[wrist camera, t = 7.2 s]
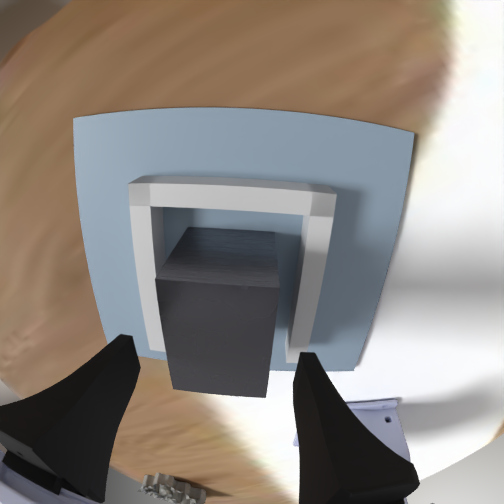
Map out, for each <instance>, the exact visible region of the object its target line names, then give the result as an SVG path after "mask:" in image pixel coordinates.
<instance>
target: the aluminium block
mask: <svg viewBox="0 0 504 504" xmlns="http://www.w3.org/2000/svg"><path fill="white" fill-rule="evenodd" d="M155 286H156V293H157V301H158V308H159V314H160V321H161V327H162V333H163V339H164V345H165V350H166V356H167V361H168V366H169V371H170V376H171V381H172V385H173V389H177V390H184V391H191V392H199V393H208V394H218V395H230V396H243V397H261V398H266V393H267V386H268V378H269V371H270V364H271V356H272V348H273V340H274V332H275V324H276V316H277V307H278V299H279V290H280V285H279V273H278V261H277V249H276V238H275V232H272V231H256V230H239V229H221V228H201V227H188V228H187V229H186V231H185V232H184V234H183V235H182V237H181V238H180V240H179V241H178V243H177V244H176V246H175V247H174V249H173V251H172V252H171V254H170V255H169V257H168V258H167V260H166V262H165V263H164V265H163V266H162V268H161V270H160V271H159V273H158V274H157V276H156V278H155Z"/></svg>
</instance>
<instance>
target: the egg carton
mask: <svg viewBox="0 0 504 504" xmlns="http://www.w3.org/2000/svg"><path fill="white" fill-rule="evenodd" d="M142 486H143V488H142V487H141V488H140V489H139V490H138V491H140V492H144V493H148V494H150V495H153V496H154V497H155V498H160V499H162V500H165V501H168V502H169V503H171V504H204V503H205V500H206V490H204V489H197V488H193V487H191V484H188V483H186V482H179V481H176V480H174V477H173V476H170V475H164V474H161V473H156V475H155V477H154V476H150V475H145V476H144V480H143V484H142ZM184 493H185V494H184Z"/></svg>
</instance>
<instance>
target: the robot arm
mask: <svg viewBox="0 0 504 504" xmlns="http://www.w3.org/2000/svg"><path fill="white" fill-rule="evenodd" d="M140 368H141V367H140V363H139V360H138V356H137V352H136V348H135V344H134V339H133V336H131V335H125V334H120V335H118V336H117V337H116V338H115V339H114V340H112V341H111V342H110V343H109V344H108V345H107V346H106V347H104V348H103V349H102V350H101V351H100V352H99V353H97V354H96V355H95V356H94V357H93V358H91V359H90V360H89V361H88V362H87V363H85V364H84V365H83V366H81V367H80V368H79V369H77V370H76V371H75V372H73V373H72V374H71V375H69V376H68V377H66V378H65V379H63V380H61V381H60V382H58V383H57V384H55V385H53V386H51V387H49V388H47V389H45V390H43V391H41V392H39V393H37V394H35V395H33V396H30V397H28V398H25V399H23V400H20V401H17V402H13V403H10V404H7V405H3V406H0V443H1V444H2V445H3V446H4V447H5V448H6V449H7V452H6V454H5V453H3V452H2V451H1V450H0V504H101V503H103V502H104V501H105V490H106V481H107V474H108V468H109V462H110V458H111V453H112V448H113V444H114V441H115V437H116V433H117V430H118V427H119V424H120V422H121V419H122V417H123V415H124V412H125V410H126V408H127V405H128V403H129V401H130V398H131V396H132V393H133V391H134V389H135V386H136V383H137V379H138V375H139V372H140ZM397 405H398V402H397V400H386V401H376V402H364V403H349V404H346V403H345V401H344V400H343V399H342V397H341V396H340V394H339V393H338V391H337V390H336V388H335V387H334V385H333V384H332V382H331V380H330V379H329V377H328V375H327V374H326V372H325V370H324V368H323V366H322V365H321V363H320V361H319V359H318V357H317V355H316V353H315V352H300V355H299V359H298V364H297V368H296V372H295V377H294V381H293V406H294V413H295V421H296V428H297V433H296V436H295V439H294V441H293V445H294V446H299V454H300V489H299V504H408V502H407V499H406V497H407V496H408V495H410V494H411V493H412V492H414V491H415V490H416V489H417V488H418V486H419V484H420V482H419V479H418V475H417V472H416V470H415V467H414V465H413V464H412V463H411V462H410V453H409V449H408V446H407V442H406V439H405V436H404V433H403V430H402V426H401V423H400V420H399V417H398V414H397V411H396V406H397ZM431 504H434V503H431Z"/></svg>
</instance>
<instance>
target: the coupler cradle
mask: <svg viewBox="0 0 504 504" xmlns="http://www.w3.org/2000/svg"><path fill="white" fill-rule="evenodd" d="M413 140H414V133H413V132H409V131H405V130H400V129H396V128H391V127H387V126H382V125H377V124H372V123H367V122H362V121H356V120H350V119H344V118H338V117H331V116H324V115H316V114H308V113H299V112H289V111H278V110H264V109H246V108H166V109H149V110H135V111H124V112H115V113H106V114H98V115H91V116H84V117H78V118H74V158H75V173H76V186H77V196H78V205H79V213H80V220H81V227H82V234H83V240H84V246H85V252H86V257H87V263H88V268H89V272H90V277H91V282H92V286H93V291H94V295H95V299H96V303H97V307H98V311H99V315H100V318H101V322H102V326H103V329H104V333H105V336H106V339H107V343H108V344H109V343H110V342H111V341H112V340H114V339H115V338H116V337H117V336H118V335H120V334H125V335H131V336H133V339H134V344H135V348H136V352H137V356H142V357H148V358H154V359H161V360H167V356H166V350H165V345H164V339H163V333H162V327H161V321H160V314H159V308H158V301H157V293H156V286H155V278H156V276H157V274H158V273H159V271H160V270H161V268H162V266H163V265H164V263H165V262H166V260H167V258H168V257H169V255H170V254H171V252H172V251H173V249H174V247H175V246H176V244H177V243H178V241H179V240H180V238H181V237H182V235H183V234H184V232H185V231H186V229H187V228H188V227H201V228H221V229H239V230H256V231H272V232H275V238H276V249H277V261H278V273H279V285H280V290H279V299H278V307H277V316H276V324H275V332H274V340H273V348H272V356H271V364H270V370H275V371H296V368H297V364H298V359H299V355H300V352H315V353H316V355H317V357H318V359H319V361H320V363H321V365H322V366H323V368H324V370H325V371H354V368H355V366H356V363H357V361H358V358H359V356H360V353H361V350H362V348H363V345H364V342H365V340H366V337H367V334H368V331H369V328H370V326H371V323H372V320H373V317H374V314H375V311H376V308H377V304H378V301H379V298H380V295H381V291H382V288H383V285H384V281H385V278H386V274H387V271H388V267H389V263H390V260H391V256H392V252H393V248H394V244H395V240H396V236H397V231H398V227H399V222H400V218H401V213H402V208H403V203H404V198H405V193H406V187H407V181H408V175H409V169H410V162H411V155H412V148H413Z"/></svg>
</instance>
